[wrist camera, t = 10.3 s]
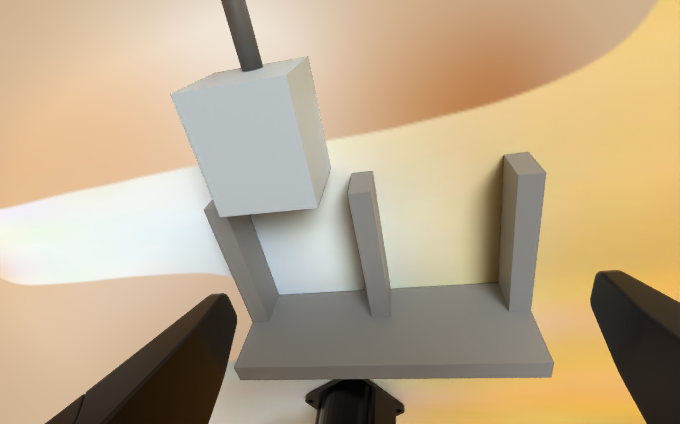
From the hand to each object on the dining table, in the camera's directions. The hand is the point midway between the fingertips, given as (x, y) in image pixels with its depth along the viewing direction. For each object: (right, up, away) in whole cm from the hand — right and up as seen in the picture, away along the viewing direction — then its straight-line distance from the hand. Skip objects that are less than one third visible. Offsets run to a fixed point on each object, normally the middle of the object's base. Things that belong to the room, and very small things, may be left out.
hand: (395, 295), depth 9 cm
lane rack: (+1, 0, +14) cm, 14 cm away
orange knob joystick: (-5, +10, +9) cm, 14 cm away
